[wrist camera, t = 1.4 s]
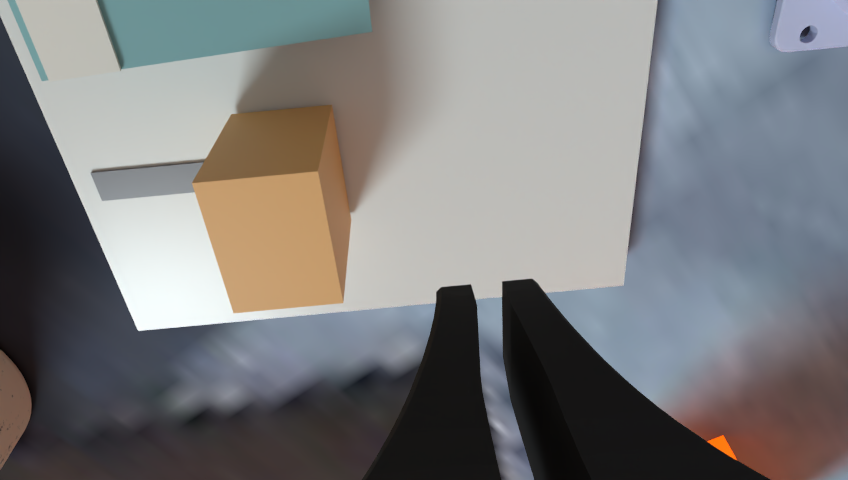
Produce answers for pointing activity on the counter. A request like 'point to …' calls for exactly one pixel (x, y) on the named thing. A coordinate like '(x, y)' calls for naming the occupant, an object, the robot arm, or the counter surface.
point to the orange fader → (277, 209)
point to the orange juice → (722, 446)
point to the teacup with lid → (12, 406)
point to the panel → (382, 151)
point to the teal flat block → (171, 30)
